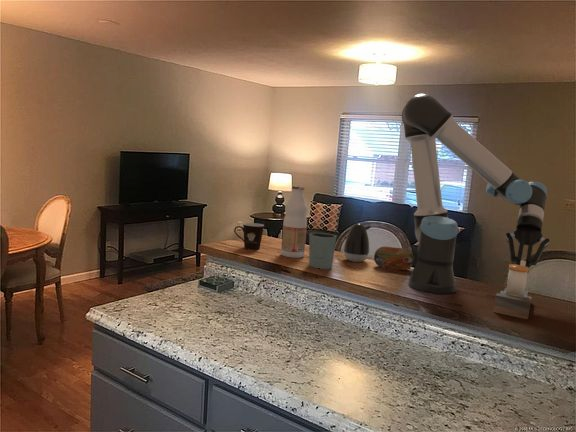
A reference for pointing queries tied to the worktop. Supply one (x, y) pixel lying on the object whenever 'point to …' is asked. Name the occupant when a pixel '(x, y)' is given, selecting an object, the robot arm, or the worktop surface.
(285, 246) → the fruit juice
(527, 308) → the knob mount
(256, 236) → the coffee mug
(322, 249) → the green tapered cup
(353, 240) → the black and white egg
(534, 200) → the robot arm
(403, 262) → the tin
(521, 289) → the knob
